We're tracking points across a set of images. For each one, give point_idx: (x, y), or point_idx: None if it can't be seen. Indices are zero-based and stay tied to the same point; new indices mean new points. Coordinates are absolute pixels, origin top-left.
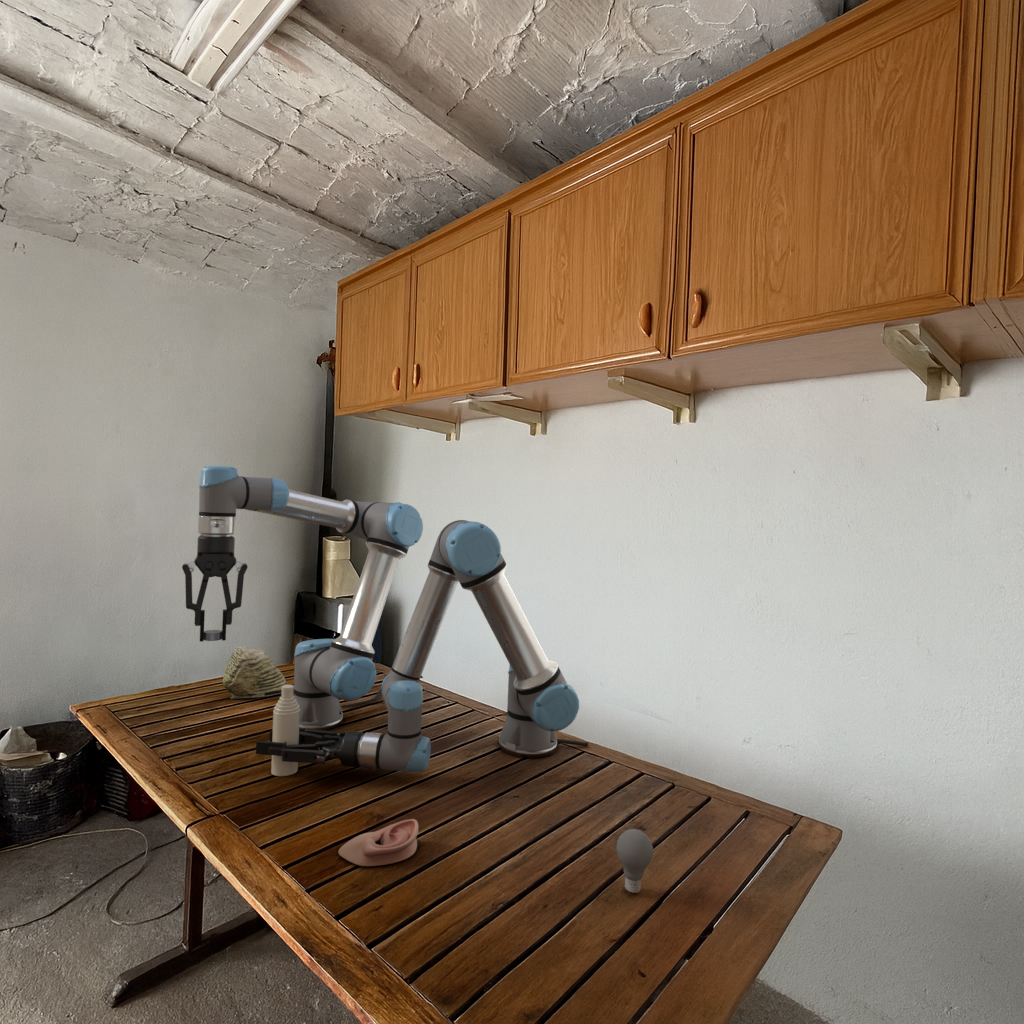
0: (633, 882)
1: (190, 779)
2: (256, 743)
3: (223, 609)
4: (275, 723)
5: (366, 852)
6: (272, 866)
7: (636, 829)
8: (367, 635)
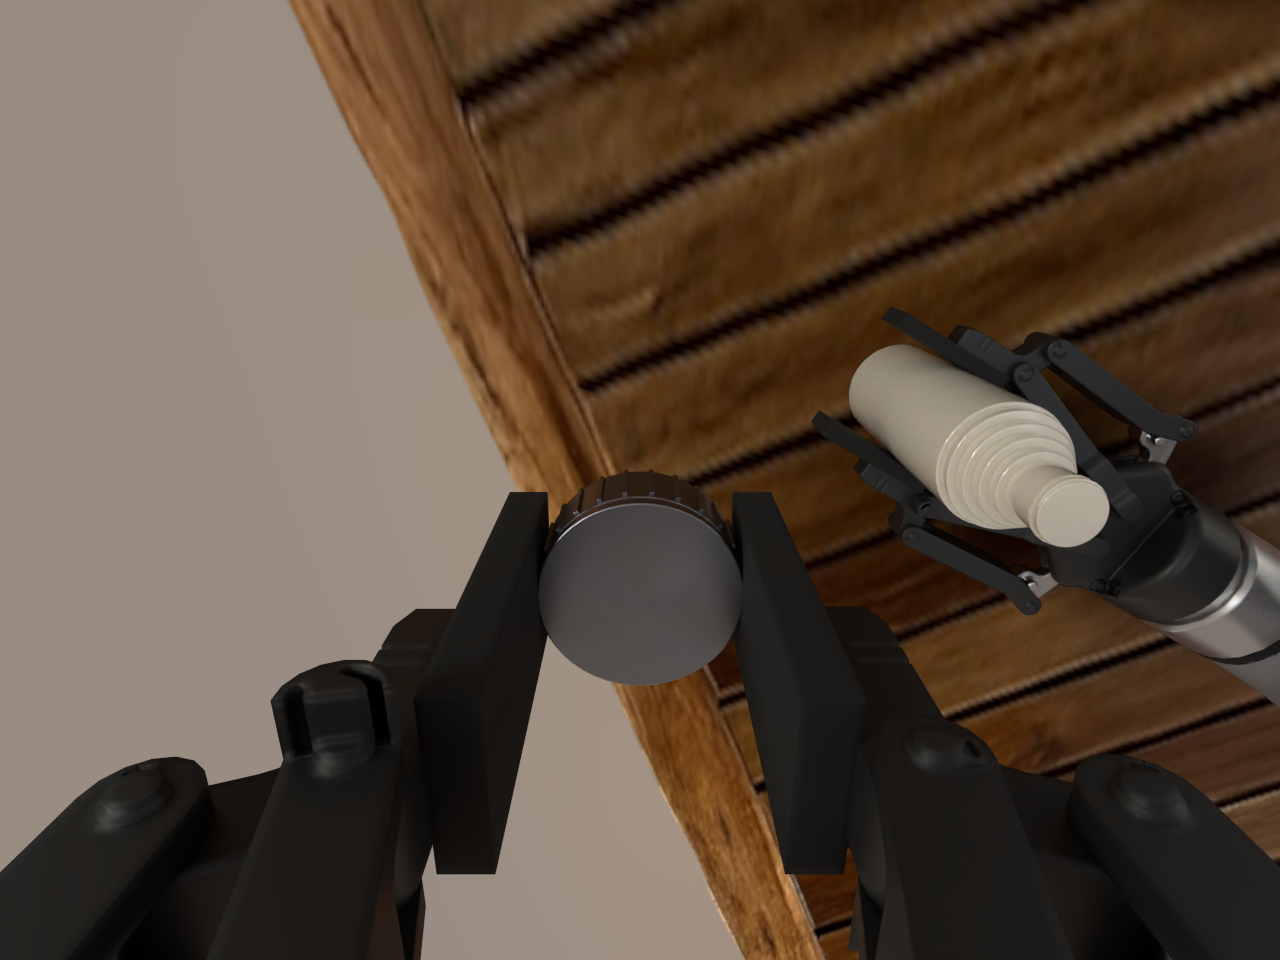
0: None
1: (584, 357)
2: (822, 434)
3: (811, 704)
4: (921, 480)
5: None
6: (769, 853)
7: None
8: None
